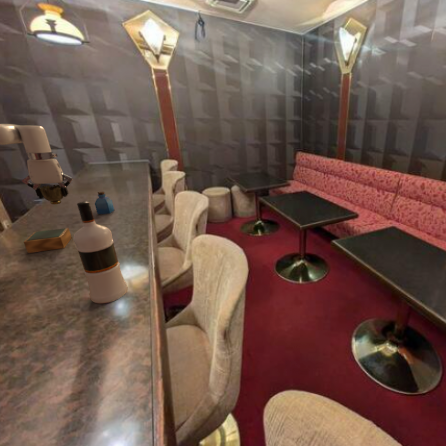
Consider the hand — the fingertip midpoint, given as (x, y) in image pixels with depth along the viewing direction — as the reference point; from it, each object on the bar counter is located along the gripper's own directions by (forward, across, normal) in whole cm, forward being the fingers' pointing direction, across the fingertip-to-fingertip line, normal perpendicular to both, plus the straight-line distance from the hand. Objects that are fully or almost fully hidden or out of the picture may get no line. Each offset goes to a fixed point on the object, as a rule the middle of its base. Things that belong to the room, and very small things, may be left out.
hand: (53, 196), depth 110 cm
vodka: (+18, -24, +65) cm, 71 cm away
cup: (+4, 0, 0) cm, 4 cm away
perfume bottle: (+18, -12, -28) cm, 35 cm away
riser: (+18, +2, +14) cm, 23 cm away
